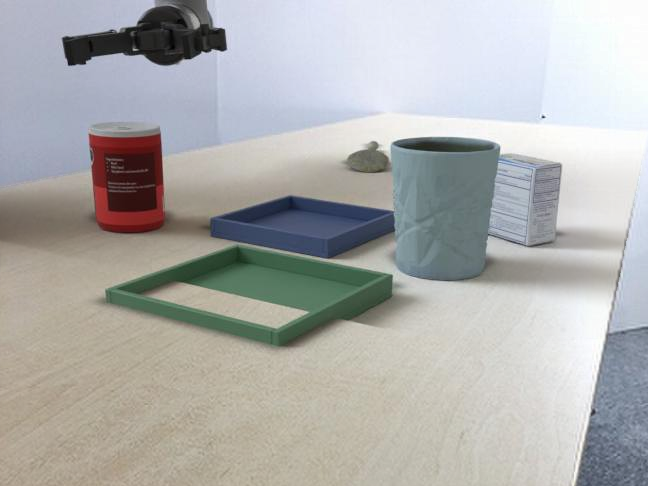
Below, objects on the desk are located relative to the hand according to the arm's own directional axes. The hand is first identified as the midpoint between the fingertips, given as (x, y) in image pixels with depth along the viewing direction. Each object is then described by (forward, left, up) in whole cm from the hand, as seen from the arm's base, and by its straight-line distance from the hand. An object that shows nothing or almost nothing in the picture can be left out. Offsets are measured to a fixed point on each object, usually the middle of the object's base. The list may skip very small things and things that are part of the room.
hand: (127, 50), depth 97 cm
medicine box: (+43, +15, -19) cm, 49 cm away
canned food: (+5, -6, -19) cm, 20 cm away
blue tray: (+23, +3, -19) cm, 29 cm away
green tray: (+33, -20, -19) cm, 43 cm away
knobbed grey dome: (+5, +49, -19) cm, 53 cm away
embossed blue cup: (+41, -1, -19) cm, 45 cm away
